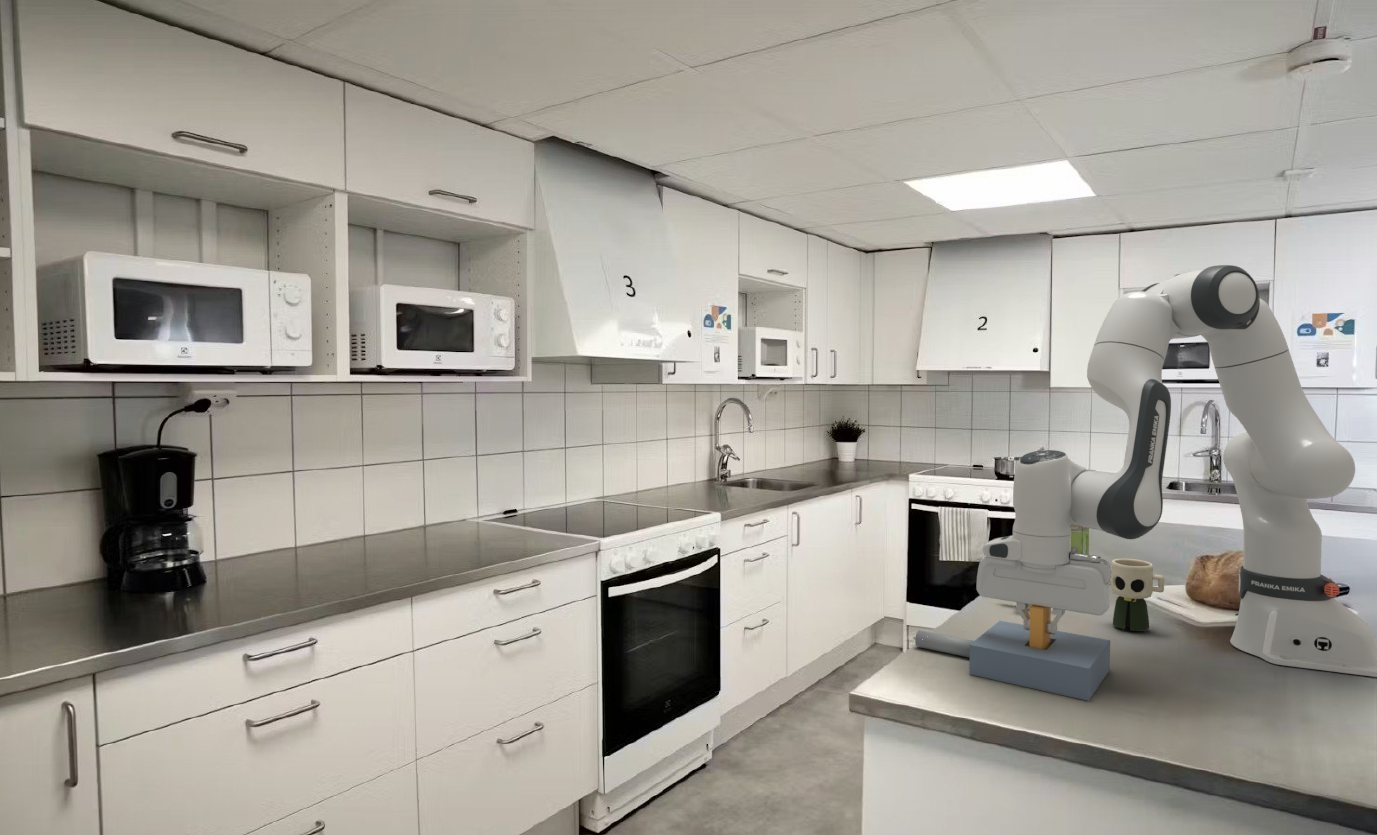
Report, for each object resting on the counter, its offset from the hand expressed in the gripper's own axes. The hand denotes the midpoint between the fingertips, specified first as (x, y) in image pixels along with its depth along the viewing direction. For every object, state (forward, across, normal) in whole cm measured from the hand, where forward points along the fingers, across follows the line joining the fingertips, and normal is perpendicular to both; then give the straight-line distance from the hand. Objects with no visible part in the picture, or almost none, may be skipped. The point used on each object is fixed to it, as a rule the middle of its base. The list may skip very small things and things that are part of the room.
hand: (1040, 631), depth 132 cm
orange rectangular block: (+4, 0, 0) cm, 4 cm away
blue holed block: (+7, +6, 0) cm, 9 cm away
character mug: (+7, -8, -34) cm, 36 cm away
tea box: (+7, +14, -66) cm, 68 cm away
